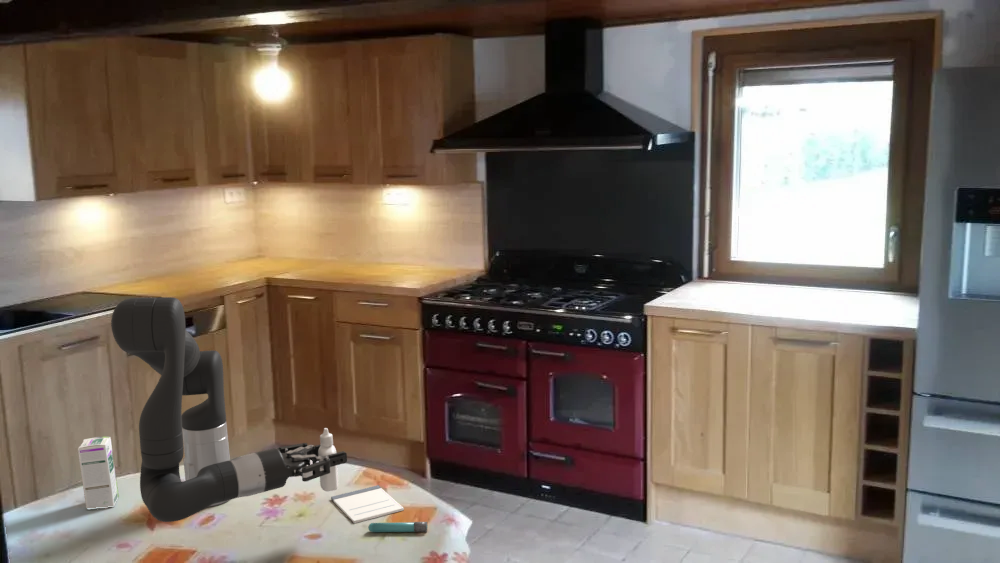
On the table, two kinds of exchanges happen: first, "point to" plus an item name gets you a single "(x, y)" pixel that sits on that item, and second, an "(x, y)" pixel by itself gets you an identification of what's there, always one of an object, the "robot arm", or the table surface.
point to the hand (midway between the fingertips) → (339, 451)
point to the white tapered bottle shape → (331, 479)
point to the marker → (398, 527)
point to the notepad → (366, 504)
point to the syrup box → (98, 472)
